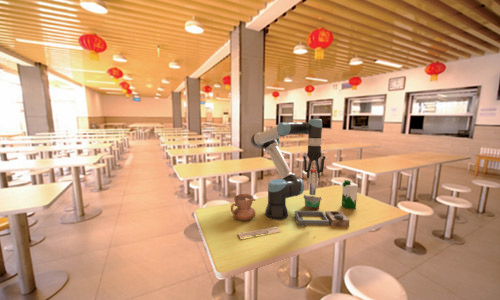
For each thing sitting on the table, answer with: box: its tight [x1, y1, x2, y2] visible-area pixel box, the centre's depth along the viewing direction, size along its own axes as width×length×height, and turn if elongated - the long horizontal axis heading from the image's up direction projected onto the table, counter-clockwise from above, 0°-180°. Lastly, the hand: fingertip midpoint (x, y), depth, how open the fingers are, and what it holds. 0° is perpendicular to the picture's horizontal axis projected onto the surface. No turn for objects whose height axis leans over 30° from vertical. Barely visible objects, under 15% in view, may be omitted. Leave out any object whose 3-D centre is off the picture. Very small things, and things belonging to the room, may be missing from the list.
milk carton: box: [341, 179, 359, 210], centre depth 150 cm, size 9×9×20 cm
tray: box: [294, 210, 330, 227], centre depth 131 cm, size 18×13×4 cm
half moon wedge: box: [303, 193, 322, 211], centre depth 146 cm, size 12×6×10 cm, turn 62°
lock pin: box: [308, 168, 317, 196], centre depth 128 cm, size 4×4×16 cm
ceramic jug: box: [230, 193, 256, 221], centre depth 135 cm, size 18×14×14 cm
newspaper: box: [237, 226, 281, 240], centre depth 117 cm, size 24×7×2 cm, turn 110°
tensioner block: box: [324, 210, 350, 228], centre depth 128 cm, size 10×12×7 cm
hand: (312, 183), depth 128 cm, fingers closed on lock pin, 4 cm apart
